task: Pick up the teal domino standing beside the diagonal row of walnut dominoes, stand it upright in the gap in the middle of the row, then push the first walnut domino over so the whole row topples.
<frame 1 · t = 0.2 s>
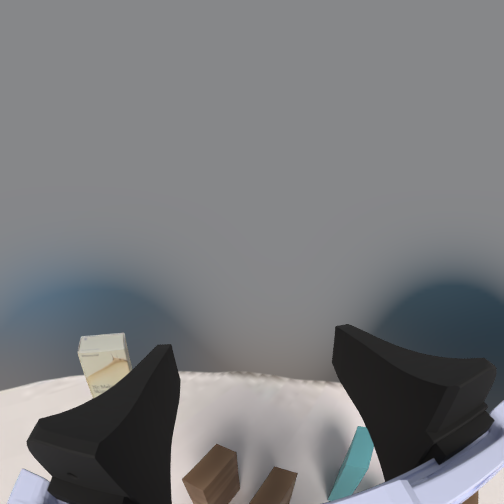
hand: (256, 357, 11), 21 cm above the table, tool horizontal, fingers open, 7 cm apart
domino 3: (343, 484, 19), on the table
skincare box: (124, 413, 30), on the table
domino 5: (219, 500, 18), on the table
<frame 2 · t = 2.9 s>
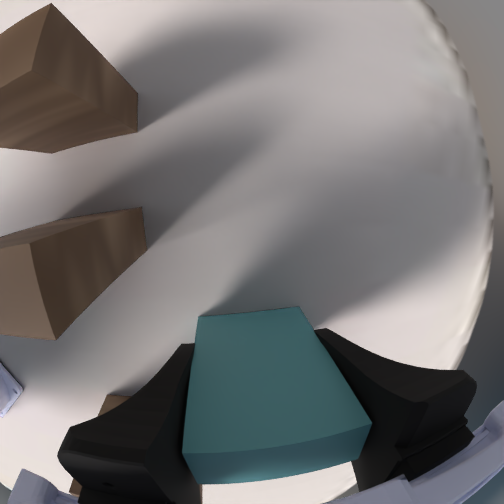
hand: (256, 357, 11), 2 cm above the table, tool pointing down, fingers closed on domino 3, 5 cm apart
domino 4: (97, 234, 11), on the table
domino 2: (146, 407, 14), on the table
domino 3: (250, 329, 13), on the table, touching gripper
domino 5: (90, 123, 10), on the table
when the fingers open (3 cm above the table, at t = 6.5 s): domino 3 drops 1 cm, on the table.
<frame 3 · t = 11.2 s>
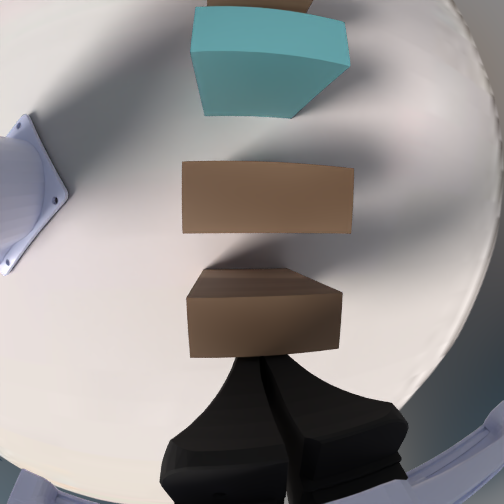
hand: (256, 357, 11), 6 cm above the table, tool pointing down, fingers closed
domino 1: (245, 285, 16), on the table, tilted 11°
domino 4: (249, 29, 13), on the table
domino 2: (246, 192, 15), on the table
domino 3: (248, 100, 14), on the table
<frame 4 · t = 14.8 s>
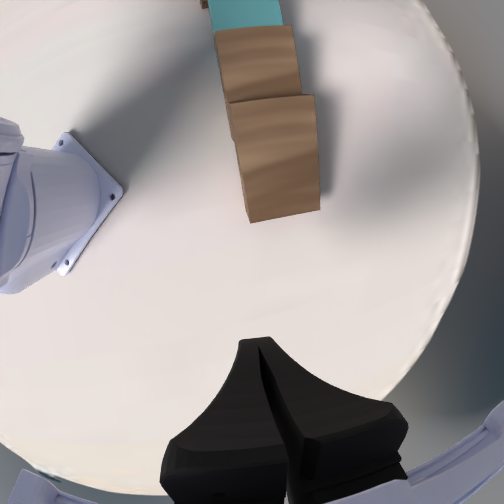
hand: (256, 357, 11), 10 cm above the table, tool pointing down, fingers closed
domino 1: (282, 210, 19), point 1 cm above the table, tilted 69°, touching domino 2
domino 4: (231, 0, 14), point 1 cm above the table, tilted 71°, touching domino 3, domino 5
domino 2: (268, 134, 18), point 1 cm above the table, tilted 71°, touching domino 1, domino 3
domino 3: (252, 61, 16), point 1 cm above the table, tilted 73°, touching domino 2, domino 4
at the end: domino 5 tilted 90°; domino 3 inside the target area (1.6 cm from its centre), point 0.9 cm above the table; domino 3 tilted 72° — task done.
